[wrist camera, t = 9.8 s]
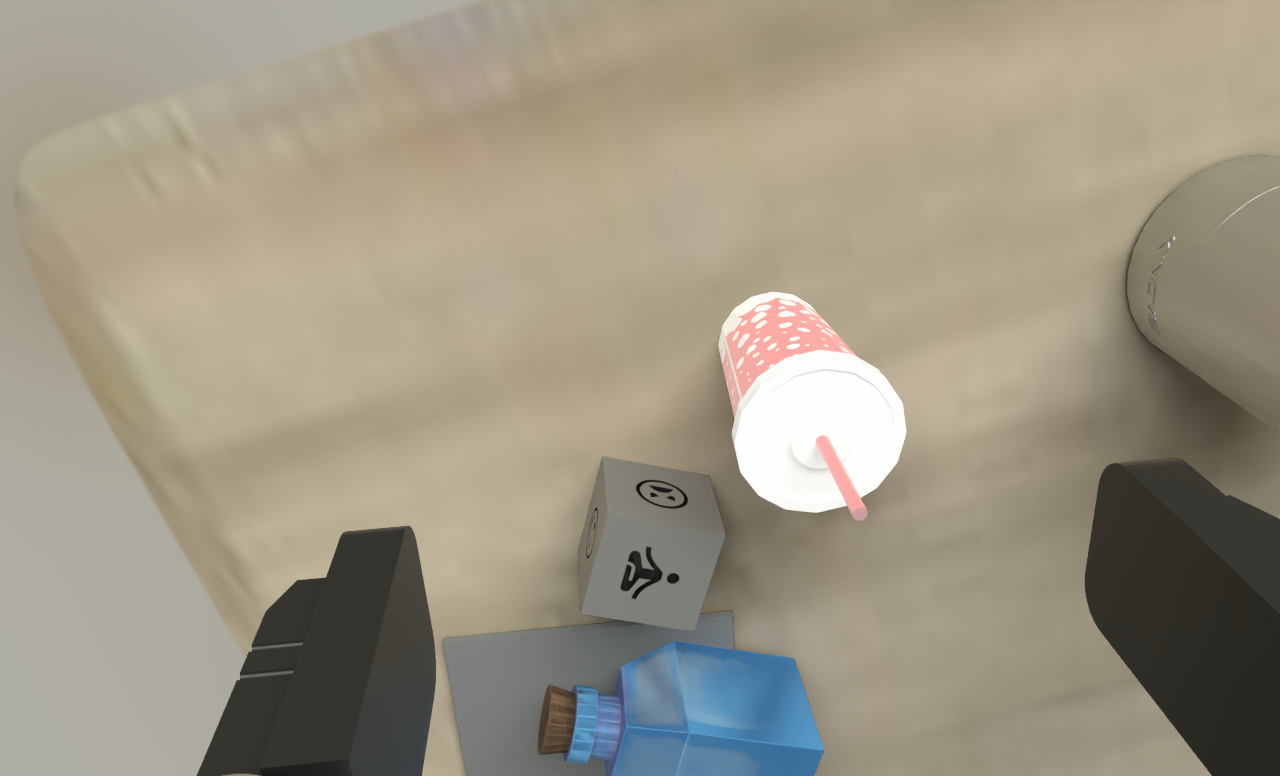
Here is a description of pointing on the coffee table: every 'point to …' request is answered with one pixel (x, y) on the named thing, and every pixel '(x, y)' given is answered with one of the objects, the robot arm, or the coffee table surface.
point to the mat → (546, 684)
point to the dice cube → (649, 545)
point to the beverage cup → (806, 408)
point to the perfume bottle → (689, 717)
